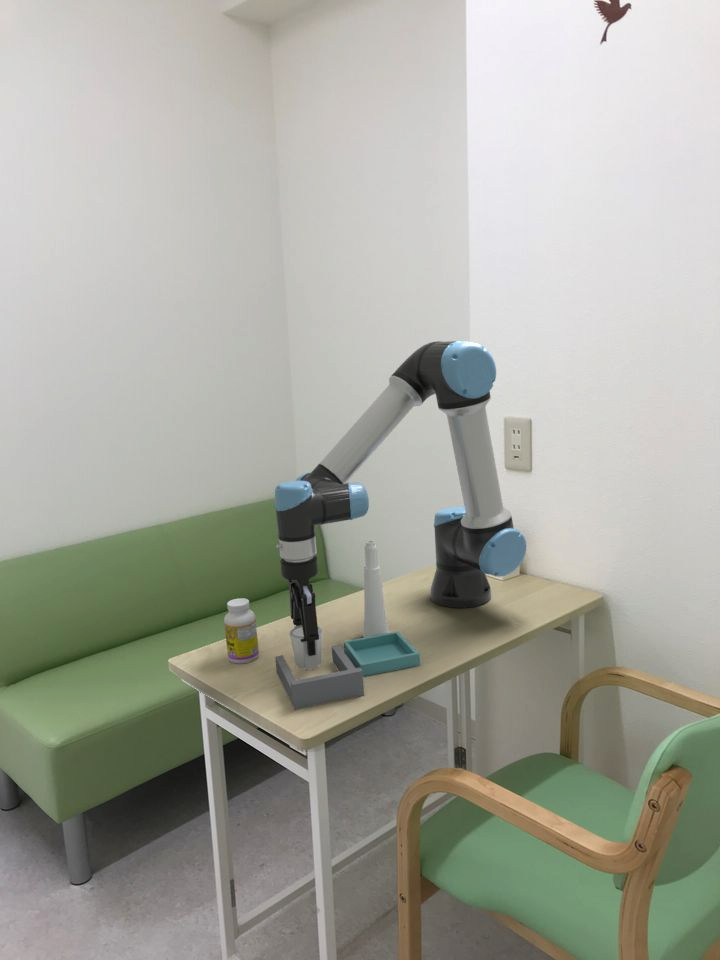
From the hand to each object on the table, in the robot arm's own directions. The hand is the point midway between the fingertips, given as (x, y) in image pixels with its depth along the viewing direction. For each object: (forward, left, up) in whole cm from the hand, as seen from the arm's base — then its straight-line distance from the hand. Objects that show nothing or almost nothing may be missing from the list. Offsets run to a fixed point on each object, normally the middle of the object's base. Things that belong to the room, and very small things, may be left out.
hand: (307, 660), depth 161 cm
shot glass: (0, 0, -1) cm, 1 cm away
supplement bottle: (+12, -8, -1) cm, 15 cm away
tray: (-15, +5, 0) cm, 16 cm away
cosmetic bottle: (-18, -7, -1) cm, 19 cm away
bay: (0, +10, 0) cm, 10 cm away
